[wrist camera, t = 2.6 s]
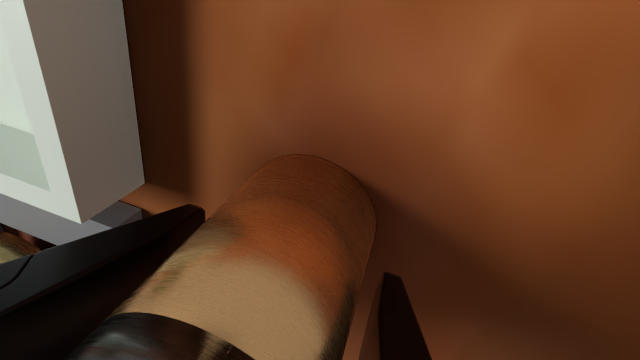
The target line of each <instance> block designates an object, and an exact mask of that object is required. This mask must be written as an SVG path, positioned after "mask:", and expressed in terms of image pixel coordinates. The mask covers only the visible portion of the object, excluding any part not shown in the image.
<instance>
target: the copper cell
mask: <svg viewBox="0 0 640 360" xmlns="http://www.w3.org/2000/svg"><path fill="white" fill-rule="evenodd" d="M375 231H376V218H375V212H374V208H373V206H372V203H371V201H370V199H369V197H368V195H367V193H366V192H365V190H364V189H363V187H362V186H361V185H360V184H359V183H358V182H357V180H356V179H355V178H354V177H353V176H351V175H350V174H349V173H348V172H347V171H345V170H344V169H342V168H341V167H339V166H338V165H336V164H334V163H332V162H330V161H327V160H324V159H322V158H319V157H314V156H310V155H301V154H296V155H286V156H281V157H278V158H275V159H273V160H271V161H269V162H267V163H266V164H264V165H263V166H262V167H261V168H259V169H258V170H257V171H256V172H255V173H254V174H253V175H252V176H251V177H250V178H249V179H248V180H247V181H246V182H245V183H244V184H243V185H242V186H241V187H240V188H239V189H238V190H237V191H236V192H235V193H234V194H233V195H232V196H231V197H230V198H229V199H228V200H227V201H226V202H225V203H224V204H223V205H222V206H221V207H220V208H219V209H218V210H217V211H216V212H215V213H213V214H212V215H211V216H210V217H209V218H208V219H207V220H206V221H205V222H204V223H203V224H202V225H201V226H200V227H199V228H198V229H197V230H196V231H195V232H194V233H193V234H192V235H191V236H190V237H189V238H188V239H187V240H186V241H185V242H184V243H183V244H182V245H181V246H180V247H179V248H178V249H177V250H176V251H175V252H174V253H173V254H172V255H171V256H170V257H169V258H167V259H166V260H165V261H164V262H163V263H162V264H161V265H160V266H159V267H158V268H157V269H156V270H155V271H154V272H153V273H152V274H151V275H150V276H149V277H148V278H147V279H146V280H145V281H144V282H143V283H142V284H141V285H140V286H139V287H138V288H137V289H136V290H135V291H134V292H133V293H132V294H131V295H130V296H129V297H128V298H127V299H126V300H125V301H124V302H123V303H121V304H120V305H119V306H118V307H117V308H116V309H115V310H114V311H113V312H112V313H111V314H110V315H109V316H108V317H107V318H106V319H105V320H104V321H103V322H102V323H101V324H100V325H99V326H98V327H97V328H96V329H95V330H94V331H93V332H92V333H91V334H90V335H89V336H88V337H87V338H86V339H85V340H84V341H83V342H82V343H81V344H80V345H79V346H78V347H77V348H76V349H74V350H73V351H72V352H71V353H70V354H69V355H68V356H67V357H66V358H65V359H64V360H342V358H343V354H344V350H345V346H346V342H347V339H348V335H349V331H350V327H351V323H352V320H353V316H354V312H355V308H356V304H357V300H358V297H359V293H360V289H361V285H362V281H363V278H364V274H365V270H366V266H367V262H368V259H369V255H370V251H371V247H372V243H373V240H374V235H375Z"/></svg>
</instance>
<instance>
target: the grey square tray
mask: <svg viewBox="0 0 640 360" xmlns="http://www.w3.org/2000/svg"><path fill="white" fill-rule="evenodd" d="M140 219H143V218H142V211H141V209H140V208H137V207H134V206H132V205H129V204H126V203H123V202H120V201H117V202H115V203H114V204H112V205H110V206H109V207H107V208H106V209H104V210H103V211H101V212H100V213H98V214H97V215H95V216H93V217H92V218H90V219H89V220H87V221H86V222H84V223H83V224H80V223H77V222H74V221H72V220H69V219H66V218H64V217H61V216H59V215H56V214H53V213H51V212H48V211H46V210H43V209H40V208H38V207H35V206H32V205H30V204H27V203H25V202H22V201H19V200H17V199H14V198H11V197H9V196H6V195H4V194H1V193H0V231H2V232H4V230H3V227H2V225H1V223H2V224H5V225H7V226H10V227H12V228H15V229H17V230H20V231H22V232H25V233H27V234H30V235H32V236H35V237H37V238H40V239H42V240H45V241H47V242H50V243H52V244H55V245H57V246H58V245H61V244H65V243H68V242H71V241H74V240H77V239H80V238H83V237H87V236H90V235H93V234H96V233H99V232H102V231H105V230H109V229H112V228H115V227H118V226H121V225H124V224H127V223H131V222H134V221H137V220H140Z"/></svg>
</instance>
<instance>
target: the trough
mask: <svg viewBox="0 0 640 360" xmlns="http://www.w3.org/2000/svg"><path fill="white" fill-rule="evenodd" d="M143 184H145V180H144V172H143V164H142V156H141V148H140V140H139V132H138V124H137V116H136V108H135V100H134V92H133V84H132V76H131V68H130V60H129V51H128V43H127V35H126V27H125V19H124V11H123V3H122V0H0V193H1V194H4V195H6V196H9V197H11V198H14V199H17V200H19V201H22V202H25V203H27V204H30V205H32V206H35V207H38V208H40V209H43V210H46V211H48V212H51V213H53V214H56V215H59V216H61V217H64V218H66V219H69V220H72V221H74V222H77V223H80V224H83V223H84V222H86V221H87V220H89V219H90V218H92V217H93V216H95V215H97V214H98V213H100V212H101V211H103V210H104V209H106V208H107V207H109V206H110V205H112V204H114V203H115V202H117V201H118V200H120V199H121V198H123V197H124V196H126V195H128V194H129V193H131V192H132V191H134V190H135V189H137V188H138V187H140V186H141V185H143Z"/></svg>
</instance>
